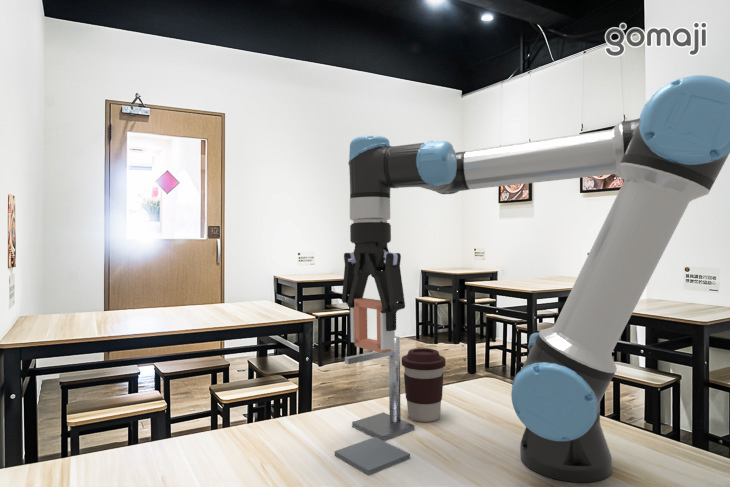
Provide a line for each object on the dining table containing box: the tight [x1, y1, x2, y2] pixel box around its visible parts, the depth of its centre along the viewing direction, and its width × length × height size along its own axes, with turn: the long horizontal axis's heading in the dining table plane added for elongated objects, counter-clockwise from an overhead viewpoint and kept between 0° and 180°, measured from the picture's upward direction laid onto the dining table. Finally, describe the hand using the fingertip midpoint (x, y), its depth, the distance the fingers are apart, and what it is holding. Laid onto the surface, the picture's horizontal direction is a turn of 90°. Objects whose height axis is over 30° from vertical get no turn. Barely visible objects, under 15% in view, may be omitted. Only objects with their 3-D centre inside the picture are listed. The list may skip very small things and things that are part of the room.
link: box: [354, 297, 391, 353], centre depth 88 cm, size 8×2×9 cm, turn 39°
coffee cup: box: [401, 347, 446, 423], centre depth 109 cm, size 10×10×15 cm
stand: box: [344, 335, 415, 442], centre depth 101 cm, size 10×14×19 cm
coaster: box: [334, 437, 411, 476], centre depth 89 cm, size 10×10×1 cm
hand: (372, 344), depth 88 cm, fingers closed on link, 8 cm apart
